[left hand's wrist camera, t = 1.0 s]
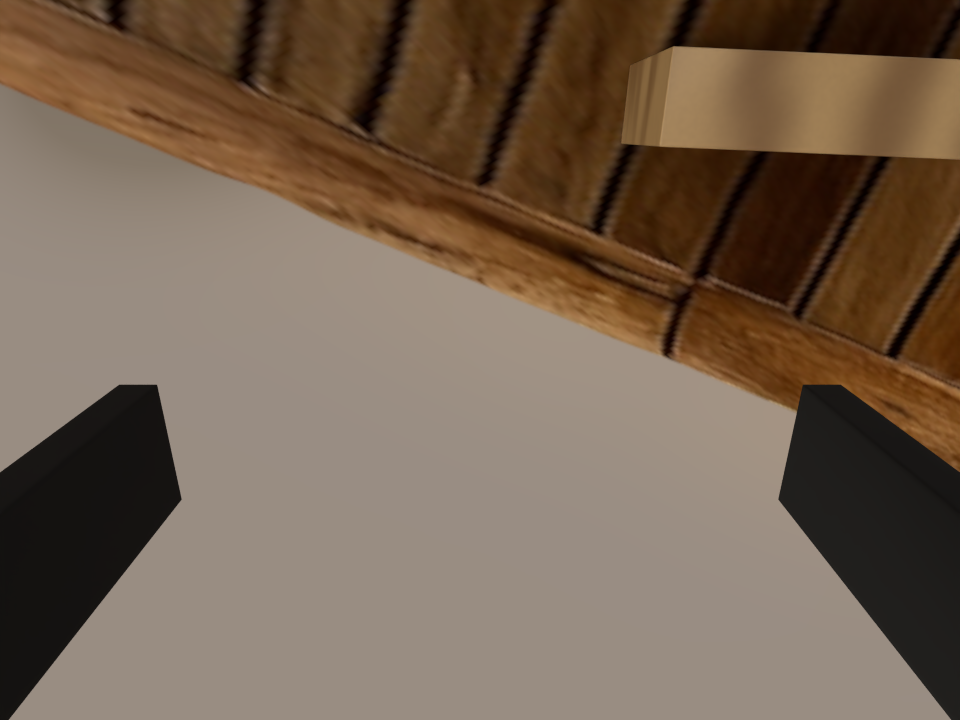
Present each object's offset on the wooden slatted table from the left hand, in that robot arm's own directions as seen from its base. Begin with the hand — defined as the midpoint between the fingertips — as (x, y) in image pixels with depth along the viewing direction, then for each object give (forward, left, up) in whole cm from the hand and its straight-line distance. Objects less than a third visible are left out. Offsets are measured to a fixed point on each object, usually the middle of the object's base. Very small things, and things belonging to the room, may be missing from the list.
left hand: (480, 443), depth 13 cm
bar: (-13, +18, -33) cm, 40 cm away
